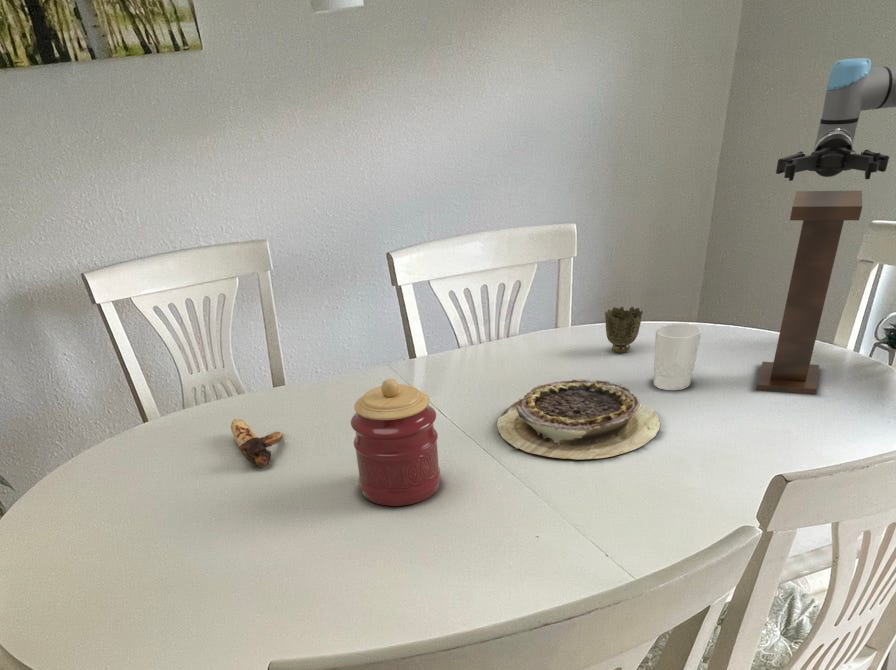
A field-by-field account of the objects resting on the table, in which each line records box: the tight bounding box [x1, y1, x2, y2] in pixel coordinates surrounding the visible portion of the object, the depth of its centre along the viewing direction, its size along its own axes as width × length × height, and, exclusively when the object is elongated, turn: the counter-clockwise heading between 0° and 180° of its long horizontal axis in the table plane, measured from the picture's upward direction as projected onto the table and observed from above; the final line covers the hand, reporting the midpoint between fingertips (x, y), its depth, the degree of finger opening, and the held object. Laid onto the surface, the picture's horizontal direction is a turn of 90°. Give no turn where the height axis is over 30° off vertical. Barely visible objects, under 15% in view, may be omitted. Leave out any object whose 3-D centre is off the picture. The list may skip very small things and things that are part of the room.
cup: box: [604, 306, 644, 354], centre depth 161 cm, size 8×7×8 cm
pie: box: [496, 378, 661, 460], centre depth 136 cm, size 28×27×5 cm
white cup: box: [652, 323, 702, 391], centre depth 145 cm, size 8×8×10 cm
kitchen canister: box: [350, 378, 441, 507], centre depth 119 cm, size 13×13×18 cm
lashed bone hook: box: [230, 418, 283, 468], centre depth 139 cm, size 9×5×18 cm
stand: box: [755, 190, 863, 395], centre depth 136 cm, size 10×12×30 cm
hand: (830, 172), depth 152 cm, fingers open, 13 cm apart
